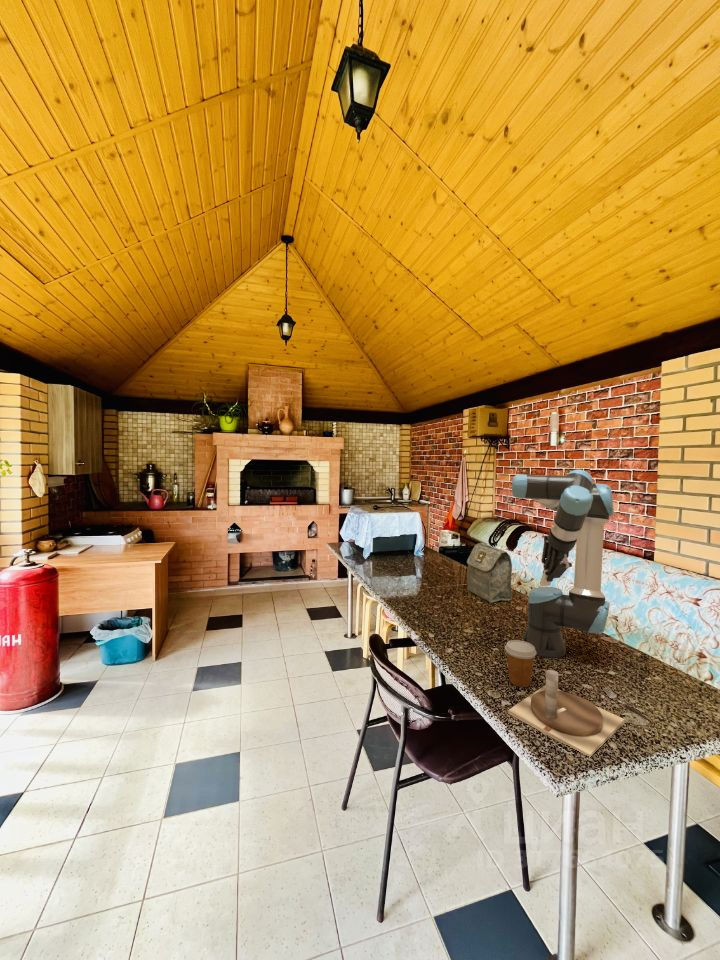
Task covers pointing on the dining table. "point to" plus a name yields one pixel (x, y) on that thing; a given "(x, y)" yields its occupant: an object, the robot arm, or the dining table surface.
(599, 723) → the dial
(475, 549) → the bag
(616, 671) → the dining table surface
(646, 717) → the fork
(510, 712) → the dial base
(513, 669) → the disposable coffee cup
